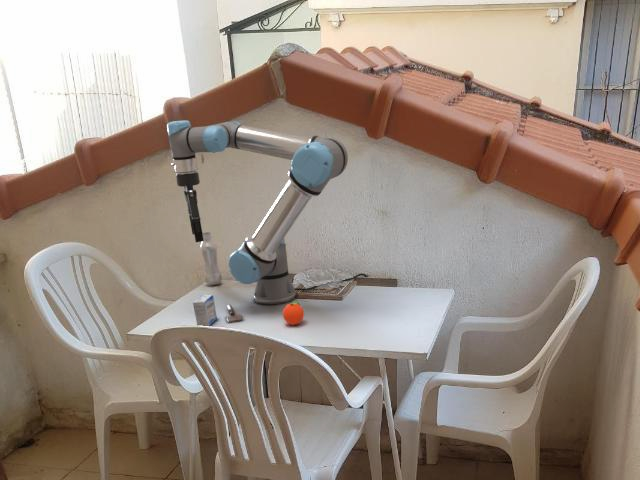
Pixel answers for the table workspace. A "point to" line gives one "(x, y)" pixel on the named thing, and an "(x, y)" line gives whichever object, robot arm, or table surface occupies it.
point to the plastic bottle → (210, 260)
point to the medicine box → (205, 310)
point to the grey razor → (233, 315)
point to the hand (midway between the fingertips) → (197, 237)
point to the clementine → (293, 313)
